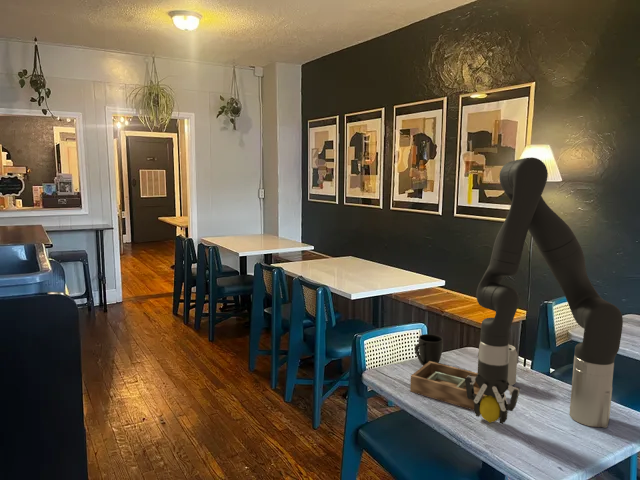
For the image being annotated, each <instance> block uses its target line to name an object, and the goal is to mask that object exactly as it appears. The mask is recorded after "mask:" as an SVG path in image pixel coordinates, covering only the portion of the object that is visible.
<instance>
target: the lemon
mask: <svg viewBox="0 0 640 480" xmlns="http://www.w3.org/2000/svg"><path fill="white" fill-rule="evenodd" d="M500 410H501V408H500V405H499V403H498V402H497V399H496V398H495V397H492V396H489V395H486V396H484V397H483V398H482V400H481V402H480V413H481V415H480V416H481V418H483V419H484V420H485V422H488V423H489V424H491V423H495V422H496V421H498V420H500Z"/></svg>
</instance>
